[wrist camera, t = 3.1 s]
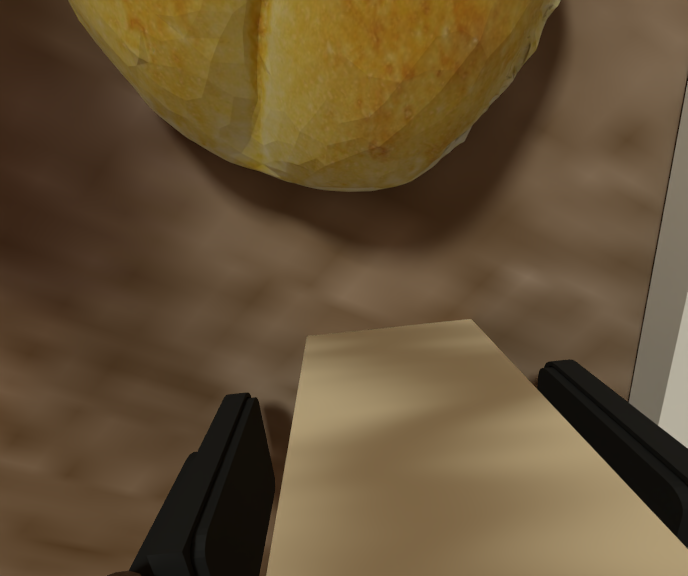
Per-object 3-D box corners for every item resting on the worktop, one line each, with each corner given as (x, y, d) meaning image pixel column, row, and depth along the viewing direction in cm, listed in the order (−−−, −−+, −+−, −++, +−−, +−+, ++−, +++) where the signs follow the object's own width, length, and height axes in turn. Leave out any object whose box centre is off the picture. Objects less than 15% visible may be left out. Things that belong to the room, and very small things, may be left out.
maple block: (471, 318, 9) (791, 659, 3) (469, 450, 11) (679, 883, 4) (306, 335, 10) (243, 709, 3) (326, 464, 11) (313, 917, 4)
